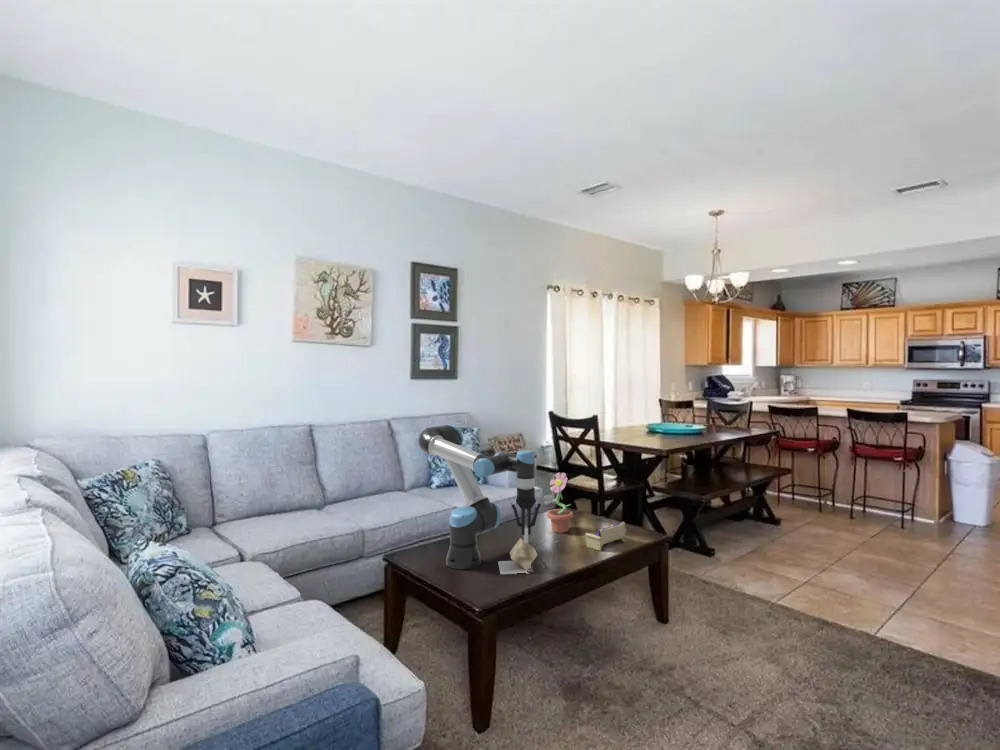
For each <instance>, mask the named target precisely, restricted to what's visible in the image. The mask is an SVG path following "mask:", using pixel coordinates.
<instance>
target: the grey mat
mask: <svg viewBox="0 0 1000 750" xmlns="http://www.w3.org/2000/svg"><path fill="white" fill-rule="evenodd" d="M497 563H498V564H497V565H498V568H499V569H498V570H499V574H500V575H518V574H517V573H526V574H529V573H528V572H527V570H528V569H529V568H531V565H532V564H531V565H530V566H529V567H528V569H527V570H526V569H523V568H522V567H521V566H519V565H518V564H516V563H515V562H514V561H512V560H500V561H498V560H497ZM528 571H529V570H528Z"/></svg>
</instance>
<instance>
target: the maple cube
mask: <svg viewBox="0 0 1000 750" xmlns="http://www.w3.org/2000/svg"><path fill="white" fill-rule="evenodd" d="M509 556H510V559H511V560H510V561H514V562H515V563H516V564H518V565H519V566H521V567H522V568H523V569H526V570H527V569H528V567H529V566H530V565H532V563H533V562H534V561H535V559H536V558H537V556H538V553H537V551H536V548H535V547H534V546H533V545H531V544H530V543H529V542H528V543H524V538H523V539H522V538H521V537H520V538H519V539H518V540H517V542H516V543H515V544H514V546H513V547H512V548H511V550H510V551H509Z"/></svg>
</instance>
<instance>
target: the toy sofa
mask: <svg viewBox="0 0 1000 750" xmlns="http://www.w3.org/2000/svg"><path fill="white" fill-rule="evenodd" d="M626 532H627V529H626V522H625V521H621V522H618V523H617V524H611V525H610V526H608V527H605V528H603V527H602V528H600V529H598V530H597V534H593V533H588V532H586V533H585V537H586V540H585V541H586V543H585V544H586V548H589V547H590V548H589V549H592V548H593V550H595V549H596V551H598V550H599V551H598V552H602V547H604V545H605V544H609V543H612V542H614V541H619V542H623V543H626Z"/></svg>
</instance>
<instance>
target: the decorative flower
mask: <svg viewBox="0 0 1000 750" xmlns="http://www.w3.org/2000/svg"><path fill="white" fill-rule="evenodd" d="M554 476H555V479H550V482H549V485H550V486H551V487H550V488H549V489H550V491H551V492H554V494H556V498H553V499H552V502H555V503H556V505H557V506H559V507H561V508H555V509H550V510H549V511H547V513H546V518H547V519H550V523H551V530H552V531H553V532H554V533H557V532H558V534H562V533H563V534H565V533H567V532H568V531H569V530H570V520H571V519H574V513H573V511H572V510H569V509H567V507H569V506H571V505H572V503H568V504H567V505H566V504H564V503H563V502H560V498H561V500H563V499H564V498H563V494H562V491H563V490H564V489H565V488H566V486H567V482H568V481H569V479H568V477H567V473H566V472H557V473H555V475H554ZM564 532H565V533H564Z"/></svg>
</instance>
